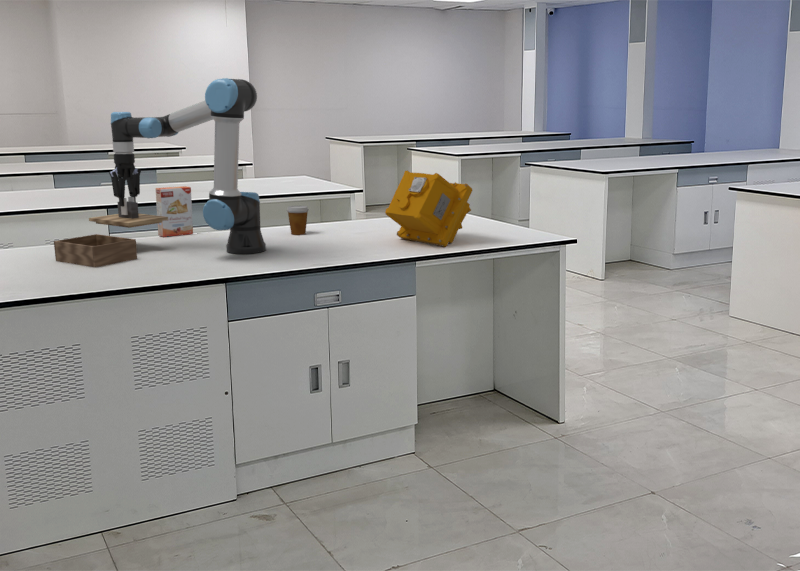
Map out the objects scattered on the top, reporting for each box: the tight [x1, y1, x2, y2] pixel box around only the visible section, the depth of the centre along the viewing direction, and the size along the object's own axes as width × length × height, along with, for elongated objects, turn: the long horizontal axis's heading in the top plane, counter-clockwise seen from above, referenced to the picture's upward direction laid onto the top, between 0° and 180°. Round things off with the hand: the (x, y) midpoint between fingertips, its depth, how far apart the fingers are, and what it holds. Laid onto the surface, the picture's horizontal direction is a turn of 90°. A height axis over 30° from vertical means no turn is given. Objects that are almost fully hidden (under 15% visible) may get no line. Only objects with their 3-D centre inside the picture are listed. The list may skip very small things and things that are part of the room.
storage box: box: [53, 233, 138, 268], centre depth 281 cm, size 22×18×8 cm
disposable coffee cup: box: [286, 205, 309, 236], centre depth 341 cm, size 10×10×12 cm
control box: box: [384, 170, 473, 248], centre depth 319 cm, size 27×27×30 cm
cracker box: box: [155, 185, 194, 238], centre depth 338 cm, size 14×6×21 cm, turn 130°
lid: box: [88, 200, 168, 229], centre depth 303 cm, size 23×19×8 cm
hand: (128, 214), depth 303 cm, fingers closed on lid, 3 cm apart
